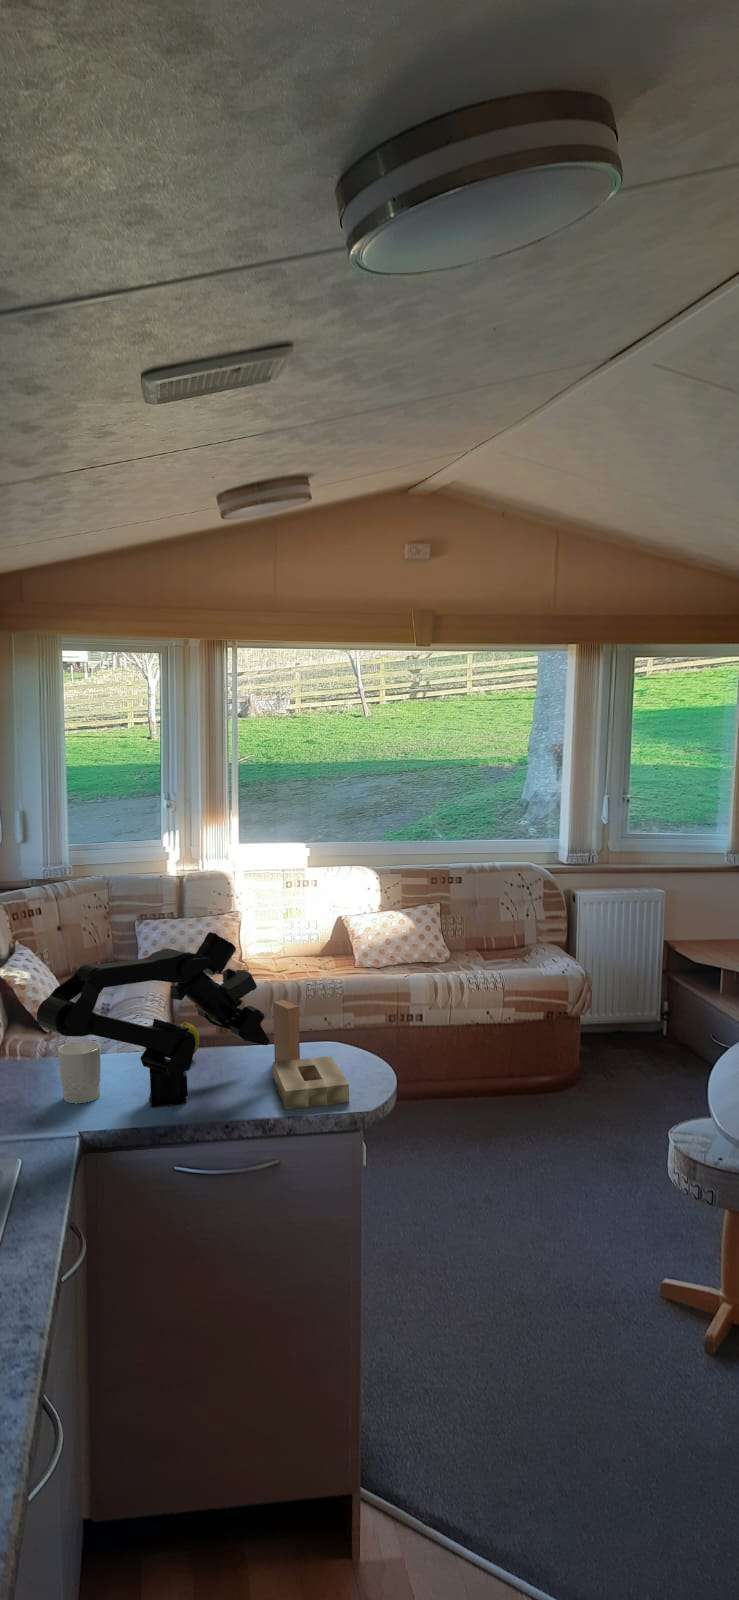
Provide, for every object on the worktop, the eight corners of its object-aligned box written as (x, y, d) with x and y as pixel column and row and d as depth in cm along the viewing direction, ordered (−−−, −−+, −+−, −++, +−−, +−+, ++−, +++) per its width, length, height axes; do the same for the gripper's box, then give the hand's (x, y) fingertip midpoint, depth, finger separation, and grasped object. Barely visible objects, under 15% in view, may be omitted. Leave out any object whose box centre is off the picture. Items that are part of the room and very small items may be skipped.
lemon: (202, 1054, 222) (201, 1018, 221) (195, 1063, 216) (194, 1026, 216) (177, 1054, 222) (176, 1018, 222) (170, 1063, 217) (168, 1026, 216)
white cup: (110, 1096, 199) (108, 1046, 198) (74, 1109, 193) (72, 1057, 192) (88, 1086, 205) (86, 1037, 204) (52, 1098, 199) (50, 1048, 198)
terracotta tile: (289, 1070, 211) (288, 1008, 210) (274, 1062, 216) (273, 1002, 215) (300, 1067, 213) (298, 1006, 211) (285, 1060, 218) (283, 999, 216)
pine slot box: (286, 1109, 191) (285, 1091, 191) (273, 1079, 207) (272, 1062, 206) (349, 1102, 194) (348, 1084, 194) (332, 1072, 210) (331, 1056, 209)
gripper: (254, 970, 197) (304, 1015, 205) (209, 951, 212) (257, 994, 220) (218, 1018, 193) (270, 1062, 201) (175, 995, 209) (225, 1038, 216)
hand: (256, 1037), depth 209 cm, fingers open, 9 cm apart
